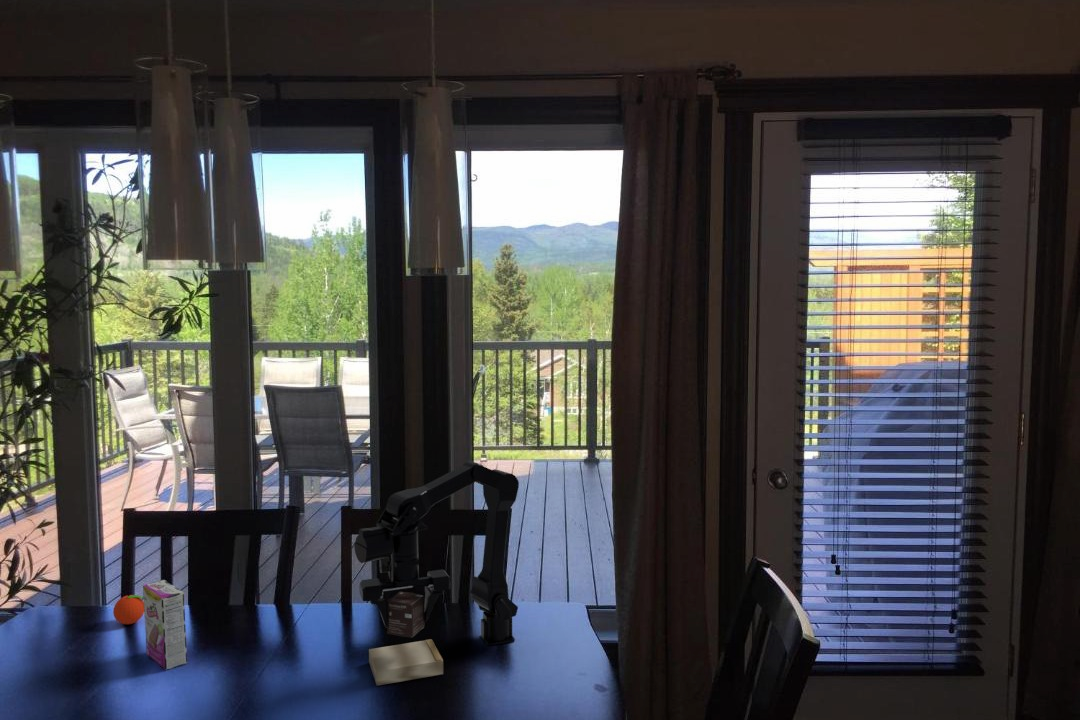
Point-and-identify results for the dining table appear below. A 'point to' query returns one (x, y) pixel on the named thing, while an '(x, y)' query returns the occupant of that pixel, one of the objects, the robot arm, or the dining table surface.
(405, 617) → the box
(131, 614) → the clementine
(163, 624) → the candy bar box
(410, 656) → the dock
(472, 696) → the dining table surface
